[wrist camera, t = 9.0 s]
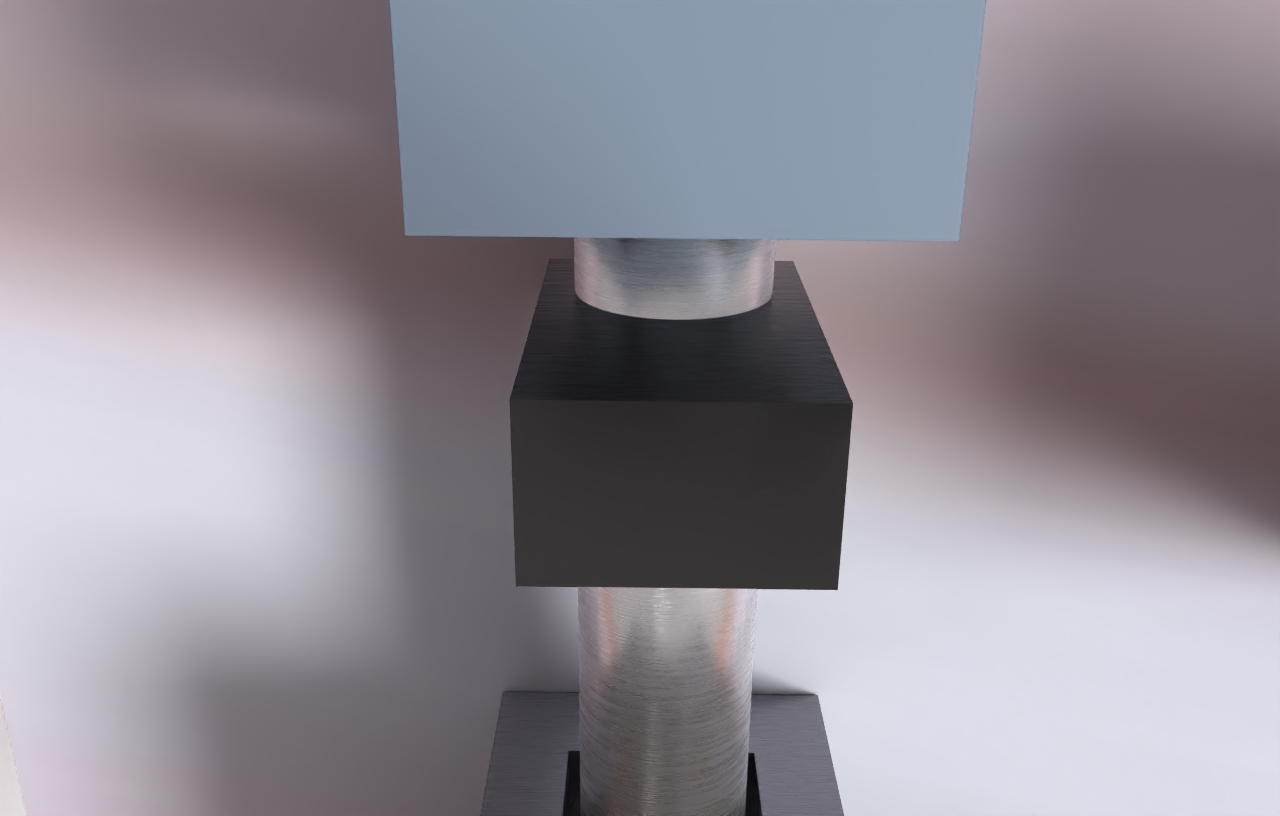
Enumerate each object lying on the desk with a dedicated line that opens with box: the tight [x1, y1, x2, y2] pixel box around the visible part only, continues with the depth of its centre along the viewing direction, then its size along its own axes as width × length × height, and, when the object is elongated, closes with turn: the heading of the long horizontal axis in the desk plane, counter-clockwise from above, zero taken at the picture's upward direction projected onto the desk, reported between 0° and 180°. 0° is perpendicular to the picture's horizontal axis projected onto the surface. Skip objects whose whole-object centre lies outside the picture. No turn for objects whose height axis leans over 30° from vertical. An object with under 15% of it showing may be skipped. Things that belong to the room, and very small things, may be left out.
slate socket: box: [390, 0, 986, 242], centre depth 20 cm, size 5×8×9 cm, turn 90°
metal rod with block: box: [510, 237, 853, 816], centre depth 22 cm, size 18×5×8 cm, turn 179°
